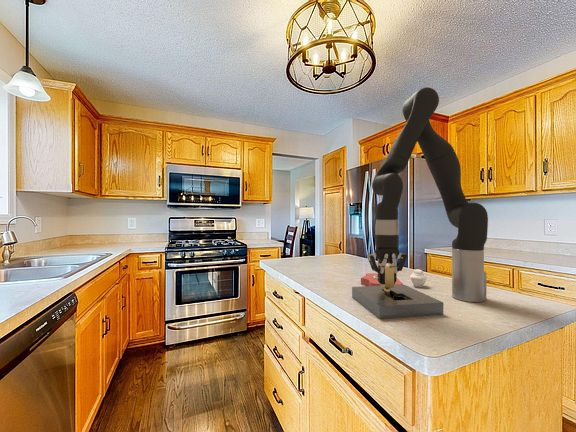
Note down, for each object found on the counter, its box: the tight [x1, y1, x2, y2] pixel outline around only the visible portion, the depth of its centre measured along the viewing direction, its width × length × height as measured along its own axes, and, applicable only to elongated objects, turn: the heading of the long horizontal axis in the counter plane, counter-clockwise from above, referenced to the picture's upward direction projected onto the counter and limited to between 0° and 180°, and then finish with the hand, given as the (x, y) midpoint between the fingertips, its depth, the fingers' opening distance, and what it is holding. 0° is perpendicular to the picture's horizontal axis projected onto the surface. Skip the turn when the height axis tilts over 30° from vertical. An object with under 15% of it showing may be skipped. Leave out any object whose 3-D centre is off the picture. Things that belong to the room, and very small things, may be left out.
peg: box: [380, 265, 396, 300], centre depth 90 cm, size 5×5×12 cm
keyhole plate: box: [351, 283, 444, 320], centre depth 86 cm, size 20×20×4 cm
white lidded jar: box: [409, 268, 428, 288], centre depth 109 cm, size 6×6×7 cm
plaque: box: [360, 272, 404, 286], centre depth 111 cm, size 18×4×15 cm
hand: (387, 283), depth 90 cm, fingers open, 3 cm apart
